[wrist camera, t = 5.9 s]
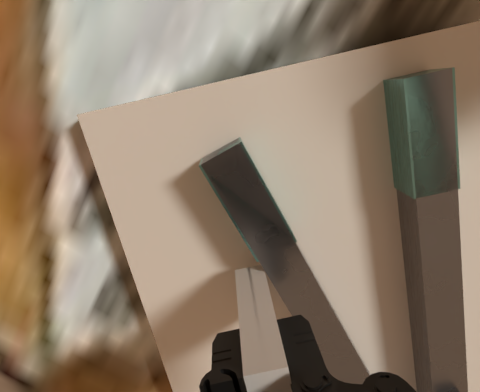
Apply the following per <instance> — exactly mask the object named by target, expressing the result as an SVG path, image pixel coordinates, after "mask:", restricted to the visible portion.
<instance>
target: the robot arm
mask: <svg viewBox="0 0 480 392" xmlns="http://www.w3.org/2000/svg"><path fill="white" fill-rule="evenodd" d="M235 279H236V292H237V304H238V317H239V329H235V330H230V331H226V332H221V333H217V335H216V337H215V339H214V341H213V343H212V365H211V371H209V372H208V373H206V374H205V376H204V377H203V378H202V380H201V382H200V385H199V389H200V392H416V391H415V390H414V389H413V388H412V387H411V386H410V385H409V384H408V383H407V382H406V381H405V380H404V379H402V378H401V377H400V376H398V375H396V374H393V373H390V372H377V373H373V374H371V375H370V376H368V377H367V378H366V379H365V381H364V382H363V384H351V383H345V382H342V381H340V380H338V379H336V378H334V377H333V376H332V375H331V374H330V373H329V372H328V370H327V368H326V365H325V363H324V360H323V357H322V355H321V352H320V350H319V347H318V344H317V342H316V339H315V336H314V334H313V331H312V328H311V326H310V323H309V321H308V320H307V319H305V318H304V317H303V316H302V315H296V316H291V317H287V318H282V319H276V315H275V311H274V307H273V303H272V299H271V295H270V291H269V287H268V283H267V278H266V274H265V270H264V269H263V267H262V265H257V266H252V267H247V268H243V269H238V270H235Z"/></svg>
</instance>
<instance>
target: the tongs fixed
mask: <svg viewBox="0 0 480 392" xmlns="http://www.w3.org/2000/svg"><path fill="white" fill-rule="evenodd" d="M383 84H384V93H385V103H386V113H387V123H388V132H389V142H390V152H391V162H392V171H393V181H394V188H396V190H397V200H398V210H399V219H400V229H401V239H402V249H403V259H404V269H405V279H406V289H407V299H408V309H409V319H410V329H411V339H412V348H413V358H414V368H415V378H416V388H417V392H468V381H467V361H466V340H465V320H464V300H463V279H462V259H461V239H460V218H459V198H458V189H460V170H459V149H458V127H457V106H456V85H455V67H451V68H441V69H430V70H425V71H420V72H416V73H412V74H407V75H403V76H399V77H394V78H390V79H386V80H383Z"/></svg>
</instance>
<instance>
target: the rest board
mask: <svg viewBox="0 0 480 392" xmlns="http://www.w3.org/2000/svg"><path fill="white" fill-rule="evenodd" d="M451 67H455V85H456V106H457V127H458V149H459V170H460V189H458V198H459V218H460V239H461V259H462V279H463V300H464V320H465V340H466V361H467V381H468V392H480V21H476V22H472V23H467V24H463V25H459V26H455V27H450V28H446V29H442V30H437V31H433V32H429V33H425V34H420V35H416V36H412V37H408V38H403V39H399V40H395V41H390V42H386V43H382V44H378V45H373V46H369V47H365V48H360V49H356V50H352V51H348V52H343V53H339V54H335V55H331V56H326V57H322V58H318V59H313V60H309V61H305V62H301V63H296V64H292V65H288V66H283V67H279V68H275V69H271V70H266V71H262V72H258V73H254V74H249V75H245V76H241V77H236V78H232V79H228V80H224V81H219V82H215V83H211V84H207V85H202V86H198V87H194V88H189V89H185V90H181V91H177V92H172V93H168V94H164V95H159V96H155V97H151V98H147V99H142V100H138V101H134V102H130V103H125V104H121V105H117V106H112V107H108V108H104V109H100V110H95V111H91V112H87V113H83V114H78V115H77V117H78V120H79V123H80V125H81V128H82V131H83V134H84V137H85V140H86V143H87V146H88V149H89V151H90V154H91V157H92V160H93V163H94V166H95V169H96V172H97V174H98V177H99V180H100V183H101V186H102V189H103V192H104V195H105V198H106V200H107V203H108V206H109V209H110V212H111V215H112V218H113V221H114V223H115V226H116V229H117V232H118V235H119V238H120V241H121V244H122V247H123V249H124V252H125V255H126V258H127V261H128V264H129V267H130V270H131V272H132V275H133V278H134V281H135V284H136V287H137V290H138V293H139V296H140V298H141V301H142V304H143V307H144V310H145V313H146V316H147V319H148V322H149V324H150V327H151V330H152V333H153V336H154V339H155V342H156V345H157V347H158V350H159V353H160V356H161V359H162V362H163V365H164V368H165V371H166V373H167V376H168V379H169V382H170V385H171V388H172V391H173V392H200V389H199V385H200V382H201V380H202V378H203V377H204V376H205V374H206V373H208V372H209V371H211V365H212V343H213V341H214V339H215V337H216V335H217V333H221V332H226V331H230V330H235V329H239V317H238V304H237V292H236V279H235V270H238V269H243V268H247V267H252V266H257V265H261V264H260V262H257V261H256V260H255V258H254V256H253V255H252V253H251V252H250V250H249V248H248V247H247V245H246V243H245V242H244V240H243V238H242V237H241V235H240V233H239V232H238V230H237V228H236V227H235V225H234V224H233V222H232V220H231V219H230V217H229V215H228V214H227V212H226V210H225V209H224V207H223V205H222V204H221V202H220V200H219V199H218V197H217V196H216V194H215V192H214V191H213V189H212V187H211V186H210V184H209V182H208V181H207V179H206V177H205V176H204V174H203V172H202V171H201V169H200V168H199V164H200V161H201V159H202V158H203V157H205V156H207V155H209V154H210V153H212V152H214V151H216V150H218V149H219V148H221V147H223V146H225V145H226V144H228V143H230V142H232V141H233V140H235V139H237V138H239V137H241V139H242V141H243V143H244V145H245V146H246V148H247V150H248V152H249V154H250V155H251V157H252V159H253V161H254V163H255V164H256V166H257V168H258V170H259V172H260V173H261V175H262V177H263V179H264V181H265V182H266V184H267V186H268V188H269V189H270V191H271V193H272V195H273V197H274V198H275V200H276V202H277V204H278V206H279V207H280V209H281V211H282V213H283V215H284V216H285V218H286V220H287V222H288V224H289V225H290V227H291V229H292V231H293V233H294V236H295V238H296V240H297V244H298V246H299V248H300V249H301V251H302V253H303V255H304V256H305V258H306V260H307V262H308V264H309V265H310V267H311V269H312V271H313V273H314V274H315V276H316V278H317V280H318V281H319V283H320V285H321V287H322V289H323V290H324V292H325V294H326V296H327V298H328V299H329V301H330V303H331V305H332V307H333V308H334V310H335V312H336V314H337V315H338V317H339V319H340V321H341V323H342V324H343V326H344V328H345V330H346V332H347V333H348V335H349V337H350V339H351V340H352V342H353V344H354V346H355V348H356V349H357V351H358V353H359V355H360V357H361V358H362V360H363V362H364V364H365V365H366V367H367V369H368V371H369V373H370V374H373V373H377V372H390V373H393V374H396V375H398V376H400V377H401V378H402V379H404V380H405V381H406V382H407V383H408V384H409V385H410V386H411V387H412V388H413V389H414V390H415V391H416V392H417V388H416V378H415V368H414V358H413V348H412V339H411V329H410V319H409V309H408V299H407V289H406V279H405V269H404V259H403V249H402V239H401V229H400V219H399V210H398V200H397V190H396V188H394V181H393V171H392V162H391V152H390V142H389V132H388V123H387V113H386V103H385V93H384V84H383V80H386V79H390V78H394V77H399V76H403V75H407V74H412V73H416V72H420V71H425V70H430V69H441V68H451ZM265 274H266V272H265ZM266 278H267V283H268V287H269V291H270V295H271V299H272V303H273V307H274V311H275V315H276V319H282V318H287V317H291V316H292V315H291V313H290V312H289V310H288V308H287V307H286V305H285V303H284V302H283V300H282V298H281V297H280V295H279V293H278V292H277V290H276V289H275V287H274V285H273V284H272V282H271V280H270V279H269V277H268V275H267V274H266Z"/></svg>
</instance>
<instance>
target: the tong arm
mask: <svg viewBox="0 0 480 392" xmlns="http://www.w3.org/2000/svg"><path fill="white" fill-rule="evenodd" d="M199 168H200V169H201V171H202V172H203V174H204V176H205V177H206V179H207V181H208V182H209V184H210V186H211V187H212V189H213V191H214V192H215V194H216V196H217V197H218V199H219V200H220V202H221V204H222V205H223V207H224V209H225V210H226V212H227V214H228V215H229V217H230V219H231V220H232V222H233V224H234V225H235V227H236V228H237V230H238V232H239V233H240V235H241V237H242V238H243V240H244V242H245V243H246V245H247V247H248V248H249V250H250V252H251V253H252V255H253V256H254V258H255V260H256V261H257V262H260V264H261V265H262V267H263V269H264V270H265V272H266V274H267V275H268V277H269V279H270V280H271V282H272V284H273V285H274V287H275V289H276V290H277V292H278V293H279V295H280V297H281V298H282V300H283V302H284V303H285V305H286V307H287V308H288V310H289V312H290V313H291V315H292V316H296V315H302V316H303V317H304V318H305V319H307V320H308V321H309V323H310V326H311V328H312V331H313V334H314V336H315V339H316V342H317V344H318V347H319V350H320V352H321V355H322V357H323V360H324V363H325V365H326V368H327V370H328V372H329V373H330V374H331V375H332V376H333V377H334V378H336V379H338V380H340V381H342V382H345V383H351V384H363V382H364V381H365V379H366V378H367V377H368V376H370V375H371V374H370V373H369V371H368V369H367V367H366V365H365V364H364V362H363V360H362V358H361V357H360V355H359V353H358V351H357V349H356V348H355V346H354V344H353V342H352V340H351V339H350V337H349V335H348V333H347V332H346V330H345V328H344V326H343V324H342V323H341V321H340V319H339V317H338V315H337V314H336V312H335V310H334V308H333V307H332V305H331V303H330V301H329V299H328V298H327V296H326V294H325V292H324V290H323V289H322V287H321V285H320V283H319V281H318V280H317V278H316V276H315V274H314V273H313V271H312V269H311V267H310V265H309V264H308V262H307V260H306V258H305V256H304V255H303V253H302V251H301V249H300V248H299V246H298V244H297V240H296V238H295V236H294V233H293V231H292V229H291V227H290V225H289V224H288V222H287V220H286V218H285V216H284V215H283V213H282V211H281V209H280V207H279V206H278V204H277V202H276V200H275V198H274V197H273V195H272V193H271V191H270V189H269V188H268V186H267V184H266V182H265V181H264V179H263V177H262V175H261V173H260V172H259V170H258V168H257V166H256V164H255V163H254V161H253V159H252V157H251V155H250V154H249V152H248V150H247V148H246V146H245V145H244V143H243V141H242V139H241V137H239V138H237V139H235V140H233V141H232V142H230V143H228V144H226V145H225V146H223V147H221V148H219V149H218V150H216V151H214V152H212V153H210V154H209V155H207V156H205V157H203V158H202V159H201V161H200V164H199Z"/></svg>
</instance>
